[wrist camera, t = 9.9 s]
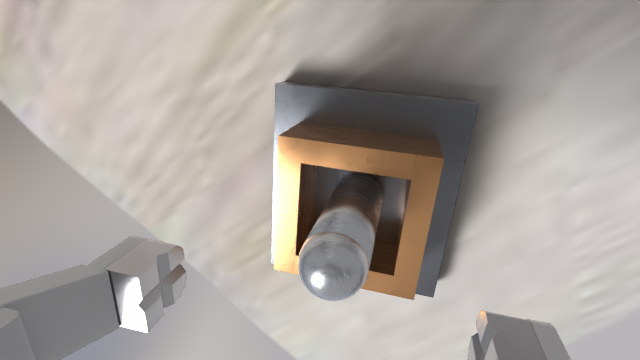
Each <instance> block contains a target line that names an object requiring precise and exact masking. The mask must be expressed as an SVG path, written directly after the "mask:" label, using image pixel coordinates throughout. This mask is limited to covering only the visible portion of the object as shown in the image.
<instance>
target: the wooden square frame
mask: <svg viewBox="0 0 640 360" xmlns="http://www.w3.org/2000/svg"><path fill="white" fill-rule="evenodd" d="M443 162H444V157H443V153H442V150H441V147H440V143H439V140H437V139H429V138H421V137H414V136H406V135H398V134H390V133H382V132H375V131H367V130H359V129H351V128H343V127H336V126H328V125H320V124H312V123H304V122H299V123H298V124H296V125H295V126H293V127H291V128H290V129H288V130H287V131H285V132H283V133H282V134H280V135H279V136H278V156H277V188H276V219H275V251H274V269H275V270H280V271H284V272H289V273H293V274H298V275H300V274H299V270H298V259H299V254H300V251H301V249H302V246H303V245H304V243H305V241H306V239H307V237H308V236H309V234H310V232H311V230H312V229H313V227H314V225H313V214H314V201H315V188H316V175H317V166H323V167H330V168H336V169H343V170H349V171H356V172H363V173H369V174H376V175H382V176H389V177H395V178H402V179H408V180H407V186H406V191H405V197H404V203H403V208H402V214H401V219H400V225H399V230H398V236H397V241H395V240H389V239H384V238H379V237H375V243H374V248H373V253H372V258H371V263H370V268H369V273H368V276H367V279H366V281H365V283H364V285H363V286H362V289H366V290H371V291H375V292H380V293H384V294H389V295H393V296H398V297H402V298H407V299H412V300H414V296H415V292H416V287H417V282H418V278H419V273H420V268H421V264H422V259H423V255H424V250H425V245H426V241H427V236H428V231H429V227H430V222H431V217H432V213H433V208H434V204H435V199H436V194H437V190H438V185H439V180H440V176H441V171H442V166H443Z"/></svg>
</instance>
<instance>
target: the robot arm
mask: <svg viewBox="0 0 640 360" xmlns="http://www.w3.org/2000/svg"><path fill="white" fill-rule="evenodd" d="M184 259H185V258H184V252H183V248H181V247H180V246H178V245H174V244H169V243H165V242H161V241H157V240H152V239H147V238H143V237H139V236H131V237H129V238H127V239H125V240H124V241H122V242H121V243H120V244H118V245H117V246H115V247H114V248H112V249H111V250H109V251H108V252H106V253H105V254H103V255H102V256H100V257H99V258H97V259H96V260H95V261H93V262H92V263H90V264H89V265H87V266H85V265H79V266H76V267H72V268H69V269H65V270H62V271H59V272H55V273H52V274H48V275H45V276H41V277H38V278H34V279H31V280H27V281H24V282H21V283H17V284H14V285H10V286H7V287H4V288H0V360H61V359H62V358H64V357H66V356H68V355H70V354H72V353H74V352H76V351H77V350H79V349H81V348H83V347H85V346H87V345H88V344H90V343H92V342H94V341H96V340H98V339H100V338H102V337H103V336H105V335H107V334H109V333H111V332H113V331H115V330H116V329H118V328H119V327H120V326H122V327H126V328H130V329H134V330H138V331H142V332H147V333H148V332H149V331H150V330H151V328H153V326H154V325H155V324H156V323H157V322H158V321H159V320H160V319H161V318H162V317H163V315H164V308H166V307H168V306H170V305H172V304H174V303H175V302H176V301H177V300H178V299H179V298H180V297H181V295H182V292H183V290H184V288H185V285H186V271H185V270H184V268H183V267H182V265H181V263H182V261H183V260H184ZM476 326H477V330H478V333H477V334H475V335H473V336H472V337H471V341H470V344H469V349H468V360H571V359H570V357H569V355H568V353H567V351H566V349H565V347H564V345H563V343H562V341H561V339H560V337H559V335H558V333H557V331H556V329H555V327H554V326H553V325H551V324H550V323H545V322H540V321H535V320H529V319H526V320H525V319H521V318H516V317H512V316H507V315H502V314H497V313H492V312H487V311H483V310H481V312H480V313H479V315H478V318H477V321H476Z"/></svg>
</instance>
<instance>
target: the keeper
mask: <svg viewBox="0 0 640 360" xmlns="http://www.w3.org/2000/svg"><path fill="white" fill-rule="evenodd" d="M478 105H479V104H478V103H476V102H475V101H473V100H463V99H453V98H443V97H433V96H423V95H413V94H403V93H393V92H383V91H373V90H363V89H353V88H344V87H334V86H324V85H314V84H304V83H294V82H280V83H275V124H274V166H273V208H272V250H271V263H274V251H275V219H276V188H277V156H278V136H279V135H280V134H282V133H283V132H285V131H287V130H288V129H290V128H291V127H293V126H295V125H296V124H298V123H299V122H304V123H312V124H320V125H328V126H336V127H343V128H351V129H359V130H367V131H375V132H382V133H390V134H398V135H406V136H414V137H421V138H429V139H437V140H439V143H440V147H441V150H442V153H443V157H444V162H443V166H442V171H441V176H440V180H439V185H438V190H437V194H436V199H435V204H434V208H433V213H432V217H431V222H430V227H429V231H428V236H427V241H426V245H425V250H424V255H423V259H422V264H421V268H420V273H419V278H418V282H417V287H416V292H415V294H419V295H424V296H428V297H433V296H434V292H435V288H436V284H437V279H438V275H439V271H440V267H441V262H442V258H443V254H444V250H445V245H446V241H447V237H448V232H449V228H450V224H451V220H452V215H453V211H454V207H455V203H456V198H457V194H458V190H459V186H460V181H461V177H462V173H463V169H464V164H465V160H466V156H467V152H468V147H469V143H470V139H471V135H472V130H473V126H474V122H475V118H476V113H477V109H478ZM407 180H408V179H402V178H395V177H389V176H382V175H376V174H369V173H363V172H356V171H349V170H343V169H336V168H330V167H323V166H317V175H316V188H315V201H314V214H313V225H314V227H313V229H312V230H311V232H310V234H309V236H308V237H307V239H306V241H305V243H304V245H303V246H302V249H301V251H300V254H299V259H298V270H299V274H300V277H301V280H302V282H303V283H304V285H305V286H306V288H307V289H308V290H309V291H310V292H311V293H312V294H314V295H315V296H317V297H319V298H321V299H324V300H328V301H340V300H344V299H347V298H349V297H351V296H353V295H354V294H356V293H357V292H358V291H359V290H360V289H361V288H362V286H363V285H364V283H365V281H366V279H367V276H368V273H369V268H370V263H371V258H372V253H373V248H374V243H375V237H379V238H384V239H389V240H395V241H397V236H398V230H399V225H400V219H401V214H402V208H403V203H404V197H405V191H406V186H407Z"/></svg>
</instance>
